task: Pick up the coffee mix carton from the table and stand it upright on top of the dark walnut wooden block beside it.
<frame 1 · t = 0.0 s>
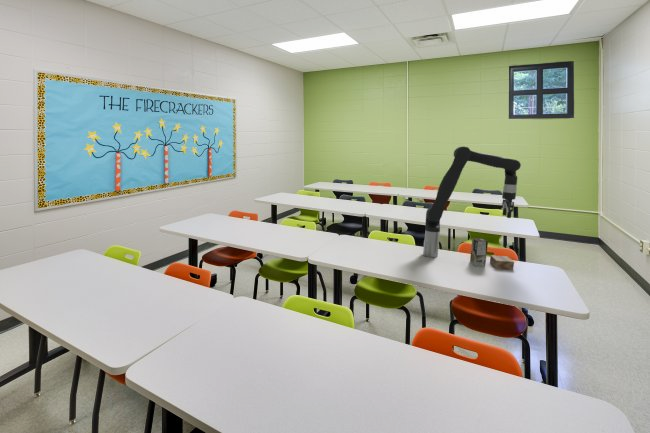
hand: (506, 216, 224), 29 cm above the table, tool pointing down, fingers open, 8 cm apart
coffee box: (477, 264, 220), on the table
walnut block: (501, 266, 217), on the table
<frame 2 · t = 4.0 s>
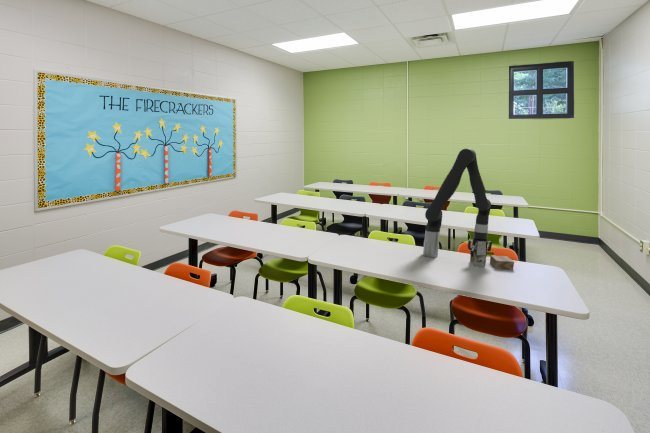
hand: (478, 256, 219), 5 cm above the table, tool pointing down, fingers closed on coffee box, 7 cm apart
coffee box: (477, 264, 220), on the table, touching gripper
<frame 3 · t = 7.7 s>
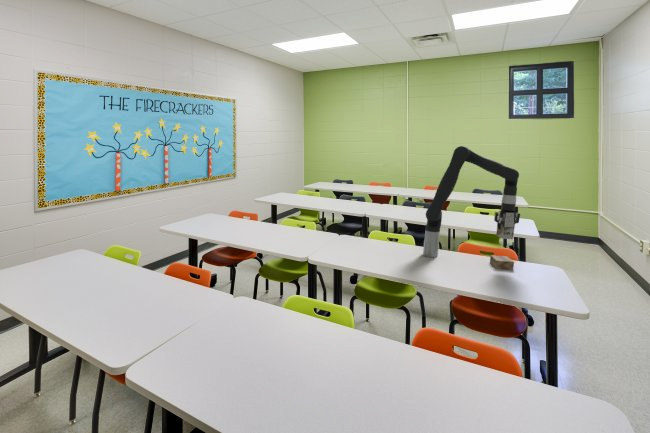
hand: (505, 229, 213), 23 cm above the table, tool pointing down, fingers closed on coffee box, 7 cm apart
coffee box: (504, 237, 214), point 18 cm above the table, touching gripper
when the fingers open (11 cm above the table, at t = 11.2 s): coffee box stays where it is, resting on walnut block.
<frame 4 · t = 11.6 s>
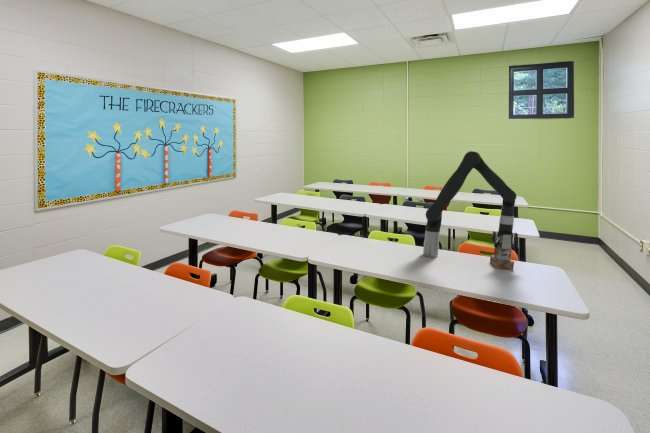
hand: (503, 248, 215), 11 cm above the table, tool pointing down, fingers open, 8 cm apart
coffee box: (501, 258, 217), point 5 cm above the table, touching walnut block
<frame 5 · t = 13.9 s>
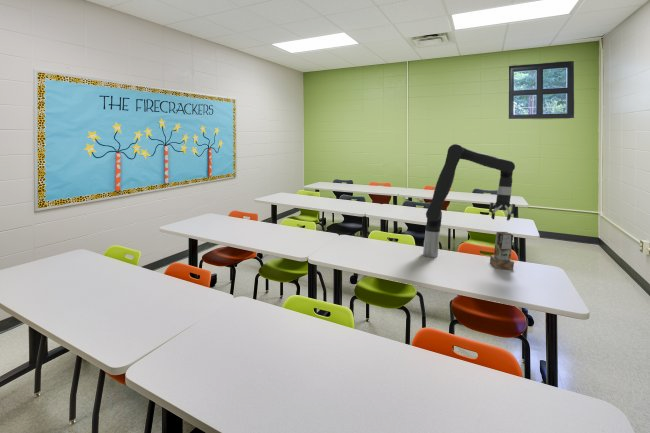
hand: (500, 219, 216), 29 cm above the table, tool pointing down, fingers open, 8 cm apart
nothing on the table moved.
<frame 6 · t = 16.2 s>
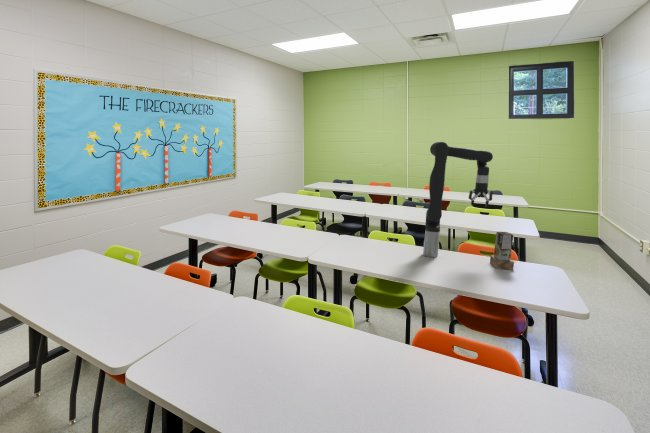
hand: (479, 206, 234), 34 cm above the table, tool pointing down, fingers open, 8 cm apart
nothing on the table moved.
at the end: coffee box inside the target area on the walnut block (0.1 cm from its centre), point 4.8 cm above the walnut block's base; coffee box tilted 0°; the gripper is holding nothing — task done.
